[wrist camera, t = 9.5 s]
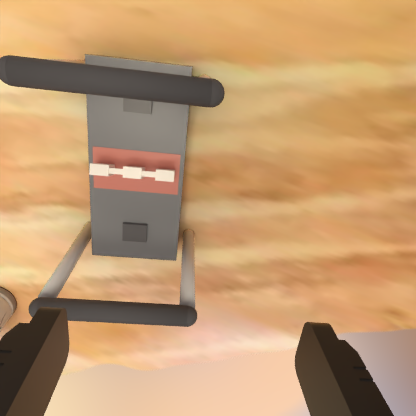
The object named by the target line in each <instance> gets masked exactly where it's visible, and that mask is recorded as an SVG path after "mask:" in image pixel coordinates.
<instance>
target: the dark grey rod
mask: <svg viewBox="0 0 416 416" xmlns="http://www.w3.org/2000/svg"><path fill="white" fill-rule="evenodd" d="M40 307H51V308H65V309H66V311H67V321H87V322H106V323H126V324H145V325H165V326H184V327H188V326H191V325H193V324H194V323H195V322H196V320H197V312H196V310H195V309H194V308H193V307H192V306H188V305H172V304H154V303H137V302H119V301H102V300H84V299H66V298H49V297H39V298H36V299H35V300H33V301H32V302H31V304H30V305H29V313H30V315H31V316H32V317H34V315H35V313H36V312H37V310H38V309H39V308H40Z"/></svg>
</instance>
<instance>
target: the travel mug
mask: <svg viewBox="0 0 416 416" xmlns="http://www.w3.org/2000/svg"><path fill="white" fill-rule="evenodd" d="M15 309H16V301H15V298H14V297H13V295H12V294H11V293H10V292H8V291H7V290H5V289H3V288H1V287H0V331H1V330H2V328H3V327H4V326H5V324H6V323H7V321H8V320H9V318H10V317H11V316H12V314H13V313H14V312H15Z"/></svg>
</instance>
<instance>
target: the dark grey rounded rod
mask: <svg viewBox="0 0 416 416" xmlns="http://www.w3.org/2000/svg"><path fill="white" fill-rule="evenodd" d="M0 79H1V80H2V81H3V82H4V83H6V84H8V85H10V86H16V87H26V88H35V89H44V90H54V91H63V92H72V93H81V94H91V95H100V96H109V97H118V98H128V99H137V100H146V101H155V102H165V103H174V104H183V105H192V106H202V107H215V106H218V105H219V104H220V103H221V102H222V100H223V98H224V88H223V86H222V84H221V83H220V82H219V81H218V80H215V79H210V78H202V77H193V76H184V75H176V74H167V73H158V72H150V71H141V70H132V69H124V68H115V67H106V66H98V65H89V64H80V63H72V62H63V61H54V60H46V59H37V58H28V57H20V56H11V55H8V56H3V57H1V58H0Z"/></svg>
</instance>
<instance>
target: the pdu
mask: <svg viewBox="0 0 416 416" xmlns="http://www.w3.org/2000/svg"><path fill="white" fill-rule="evenodd" d="M46 60H51V59H46ZM54 61H63V62H72V63H80V64H89V65H98V66H106V67H115V68H124V69H132V70H141V71H150V72H158V73H167V74H176V75H184V76H192V66H185V65H176V64H168V63H159V62H151V61H142V60H134V59H125V58H117V57H108V56H100V55H88V54H85V60H54ZM199 77H202V78H210V77H209V76H207V75H206V74H201V75H200V76H199ZM210 79H211V78H210ZM86 95H87V123H88V151H89V172H90V163H104V164H115V168H119V169H123V166H137V167H145V171H152V172H156V169H158V168H159V169H170V170H175V179H174V182H167V181H155V178H154V177H145V178H143V179H133V178H123V175H120V174H114V175H112V176H99V175H89V178H90V206H91V222H87V223H86V224H85V226H84V227H83V229H82V230H81V232H80V233H79V235H78V236H77V238H76V239H75V241H74V242H73V244H72V245H71V247H70V248H69V250H68V251H67V253H66V254H65V256H64V257H63V259H62V260H61V262H60V264H59V265H58V267H57V268H56V270H55V271H54V273H53V274H52V276H51V277H50V279H49V280H48V282H47V283H46V285H45V286H44V288H43V289H42V291H41V292H40V294H39V296H38V298H39V297H49V298H57V296H58V294H59V293H60V291H61V289H62V287H63V286H64V284H65V282H66V280H67V279H68V277H69V275H70V273H71V272H72V270H73V268H74V267H75V265H76V263H77V261H78V260H79V258H80V256H81V254H82V253H83V251H84V249H85V247H86V246H87V244H88V242H89V240H90V239H91V237H92V255H101V256H116V257H131V258H145V259H160V260H175V261H176V257H177V245H178V233H179V221H180V209H181V197H182V185H183V173H184V161H185V149H186V137H187V124H188V112H189V105H183V104H174V103H165V102H155V101H146V100H137V99H128V98H118V97H109V96H100V95H91V94H86ZM180 305H188V306H192V307H193V308H194V309H195V260H194V232H193V231H192V230H190V229H187V230H185V231H184V233H183V248H182V267H181V287H180Z"/></svg>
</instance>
